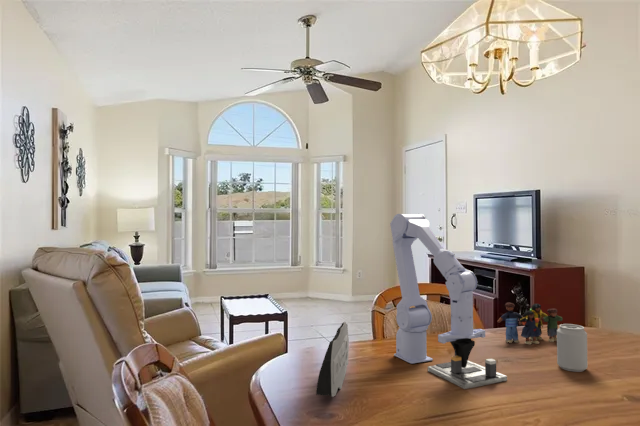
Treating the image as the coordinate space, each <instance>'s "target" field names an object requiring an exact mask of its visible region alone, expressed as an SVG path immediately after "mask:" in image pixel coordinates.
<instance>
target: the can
mask: <svg viewBox="0 0 640 426" xmlns="http://www.w3.org/2000/svg"><path fill="white" fill-rule="evenodd" d="M556 338H557V341H556V363H557V365H558V366H559V367H560V368H561V369H562V370H565V371H567V372H572V373H573V372H575V373H576V372H577V373H580V372H584V371H585V370H587V369H588V366H589V365H588V332H586V330H585V327H584V326H583V325H579V324H573V323H563V324H562V323H561V324H559V326H558V330H557V335H556Z"/></svg>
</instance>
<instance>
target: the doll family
mask: <svg viewBox="0 0 640 426" xmlns="http://www.w3.org/2000/svg"><path fill="white" fill-rule="evenodd" d="M504 307H505V310H507V312H505V313H504V314H502V315H501V316H500V317H499V318H498V320H497V321H496V322H497V323H498V324H500V323H501V322H503V321H505V342H506V343H508V342H509V344H512V342H513V341H514V342H513V343H520V340H519V333H518V326H520V325H521V326H523V327H522V330H521V334H520V336H521V337H522V338H525V341H524V344H526V345H532V344H536V345H537V344H540V339H541V340H543V337H542V336H541V335H542V334H543V332H542V328H543V327H544V324H543V322H544V323H547V324H546V331H547V332H546V333H547V337H548V340H547V342H551V343H555V342H554V341H556V342H557V330H558V329H559V326H558V322H563V316H560V315H558V309H557V308H548V309H546V310H547V311H546V312H547V313H548V314H546V313H545V312H543V311H542V308H541V307H542V305H541V304H539V303H533V304H532V305H531V308H529V310H526V311H524V313H523V316H522V314H521V313H518V312H515V311H514V308H515V307H516V305H515V304H514V303H513V302H509V301H508V302H505V304H504ZM530 340H531V341H530ZM538 340H539V341H538Z"/></svg>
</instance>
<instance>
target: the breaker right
mask: <svg viewBox="0 0 640 426" xmlns="http://www.w3.org/2000/svg"><path fill="white" fill-rule="evenodd" d="M484 361H485V362H484V367H485V375H487V376H489V377H493V376H496V372H497V360H496V359H494V358H487V359H485V360H484Z"/></svg>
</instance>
